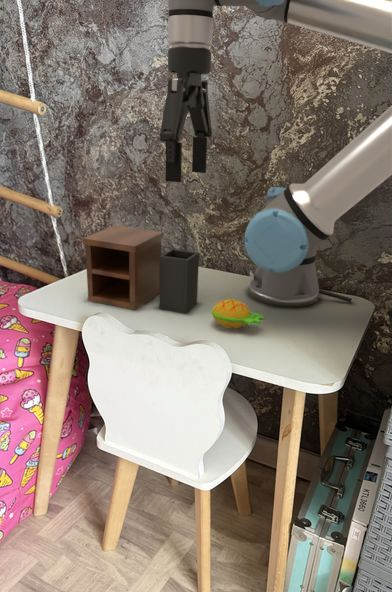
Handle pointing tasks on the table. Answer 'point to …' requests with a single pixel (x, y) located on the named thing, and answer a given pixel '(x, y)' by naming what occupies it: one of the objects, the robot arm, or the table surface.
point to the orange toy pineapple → (234, 314)
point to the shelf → (123, 266)
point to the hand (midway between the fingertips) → (186, 176)
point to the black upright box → (178, 280)
